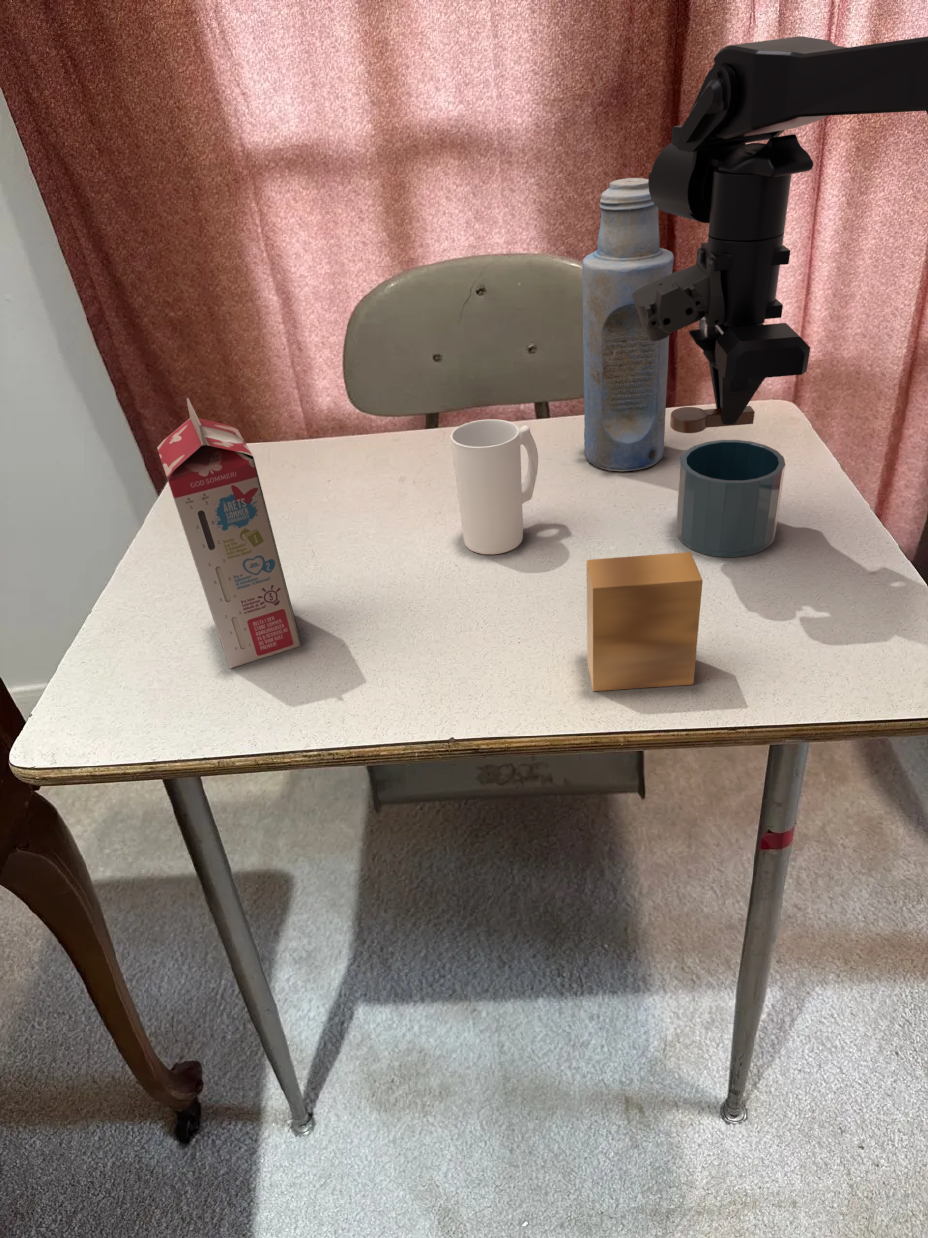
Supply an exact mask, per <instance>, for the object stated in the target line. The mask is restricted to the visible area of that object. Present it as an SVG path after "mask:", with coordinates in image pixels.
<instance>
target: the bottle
mask: <svg viewBox="0 0 928 1238" xmlns="http://www.w3.org/2000/svg"><path fill="white" fill-rule="evenodd" d="M648 181H649V178H642V177H627V178H621V179H616V180H613V181H610V182H609V187H608V188H607V189H606V190H604V191H603V192H602V193H601V196H600V200H599V202H600V204H599V208H600V224H599V230H598V237H597V248H596V250H595V251H593V252H591V253H589V254H587V255H586V256H585V257H584V258H583V260H582V262H581V264H582V265H581V267H582V268H581V272H582V273H581V275H582V338H583V339H582V345H583V347H582V348H583V355H582V357H583V359H582V360H583V411H584V412H583V413H584V415H583V418H584V421H583V423H584V428H583V440H584V442H583V444H584V450H583V451H584V452H583V455H584V458H585V459H586V461H587V462H588V463H590V464H591V465H593V466H594V467H597V468H599V469H602V470H606V471H613V472H629V471H630V472H631V471H632V472H633V471H637V470H643V469H646V468H649V467H652V466H654V465H656V464H657V463H658V462H660V460H662V458H663V456H664V453H665V435H666V432H665V431H666V412H667V411H666V410H667V409H666V407H667V393H668V392H667V389H668V374H669V373H668V372H669V371H668V369H669V347H670V345H669V344H670V335H669V336H668V337H666V338H664V339H662V340H659V341H650V340H649V338H648V336H647V334H646V332H645V331H644V330H643V327H642V324H641V321H640V318H639V315H638V312H637V309H636V306H635V303H634V300H633V297H632V294H633V293H634V292H635V291H636V290H638V289H640V288H642V287H644V286H646V285H648V284H650V283H652V282H655V281H657V280H659V279H661V278H663V277H665V276H668V275H670V274H672V273H673V270H674V269H673V268H674V259H675V256H674V253H673V252H672V251H671V250H668V249H666V248H662V247H660V242H661V241H660V224H659V208H658V207H657V206H656V205H655V204H654V202H653V201H652V199H651V196H650V193H649V185H648Z"/></svg>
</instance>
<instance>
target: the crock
mask: <svg viewBox="0 0 928 1238" xmlns="http://www.w3.org/2000/svg"><path fill="white" fill-rule="evenodd" d="M679 459H680V460H679V473H678V475H679V476H678V490H677V491H678V493H677V507H676V508H677V509H676V521H675V522H676V523H675V527H676V528H675V534H676V537H677V538H678V540H679V541H680V542H681V543H682V544H683V545H684V546H685V547H687V548H689V549H690V550H692V551H693V552H697V553H699V554H703V555H705V556H711V557H719V558H740V557H747V556H752V555H756V554H758V553H761V552H762V551H765V550H767V548H769V547H770V546H771V545H772V544H773V542H774V540H775V536H776V532H777V527H778V519H779V512H780V505H781V500H782V499H781V498H782V491H783V486H784V485H783V484H784V479H785V478H784V477H785V471H786V461H785V460H786V459H785V457H784V456H783V455H782V454H781V453H780V452H779V451H778V450H777V449H775V448H772V447H770V446H768V445H767V444H763V443H759V442H755V441H751V440H742V439H719V440H711V441H706V442H702V443H699V444H695V445H693V446H691V447H690V448H688V449H686V450H685V451H684V452H683V453H682V455H681V456H680V458H679Z"/></svg>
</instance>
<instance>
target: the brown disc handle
mask: <svg viewBox="0 0 928 1238" xmlns="http://www.w3.org/2000/svg"><path fill="white" fill-rule="evenodd" d="M755 412H756V411H755V410H754V408H753V407H752V406H751V405H747V406H746V408H745V409H744V411H743V412H742V414H741V415H740V417H739V419H738V420H737V422H736V423H735V424H729V425H724V424H723V422H722V415H721V408H718V409H716V408H707V409H703V408H700V407H696V406H683V407H678V408H675V409H674V410H672V411H671V413H670V424H669V426H670V428H671V430H673V431H674V432H677V433H682V434H696V433H697V434H698V433H700V432H703V431H704V430H706V429H707V428H719V427H731V426H732V427H734V426H744V425H754V421H755Z"/></svg>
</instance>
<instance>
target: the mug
mask: <svg viewBox="0 0 928 1238" xmlns="http://www.w3.org/2000/svg"><path fill="white" fill-rule="evenodd" d="M449 438H450V444H451V445H450V446H451V455H452V462H453V467H454V468H453V470H454V477H455V484H456V492H457V493H456V494H457V500H458V509H459V515H460V516H459V517H460V523H461V531H462V538H463V544H464V545H465V547H466V548H467V549H468V550H470V551H471V552H474V553H477V554H482V555H497V554H498V555H501V554H504V553H508V552H510V551H512V550H514V549H516V548H518V547H519V546H520V545H521V543H522V542H523V539H524V515H523V513H524V512H523V504H525V503H526V502H528V501H531V500H532V498H533V495H534V490H535V486H536V481H537V475H538V471H539V452H538V446H537V444H536V442H535V439H534V437H533V435H532V432H531V428H530V426H528V425H522V426H520V427H519V426H518V425H517V424H515V423H514V422H512V421H510V420H504V419H495V418H492V419H491V418H488V419H480V420H473V421H469V422H466V423H464V424H461V425H458V426H457V427H455V428H454V429H453V430H452V431H451V433H450V437H449ZM521 445H522V446H524V448H525V450H526V453H527V459H528V461H527V462H528V463H527V470H526V474H525V478H524V480H523V482H522V455H521V453H522V452H521V451H522V450H521Z"/></svg>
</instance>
